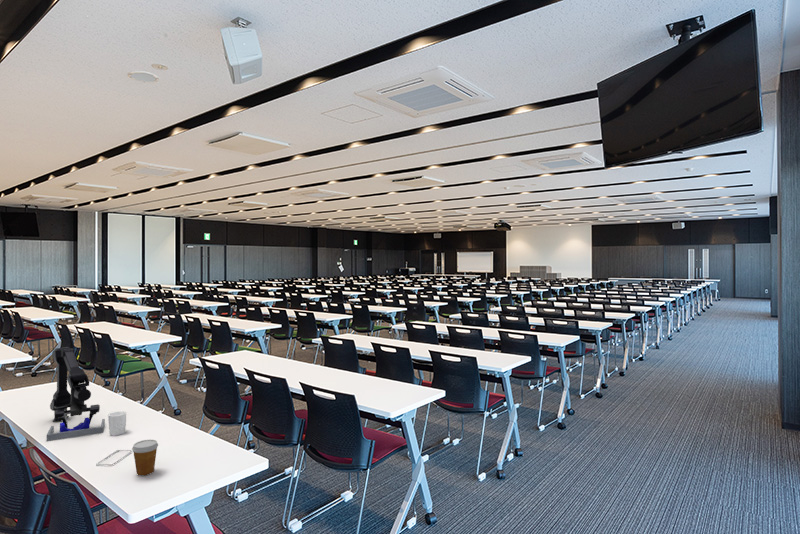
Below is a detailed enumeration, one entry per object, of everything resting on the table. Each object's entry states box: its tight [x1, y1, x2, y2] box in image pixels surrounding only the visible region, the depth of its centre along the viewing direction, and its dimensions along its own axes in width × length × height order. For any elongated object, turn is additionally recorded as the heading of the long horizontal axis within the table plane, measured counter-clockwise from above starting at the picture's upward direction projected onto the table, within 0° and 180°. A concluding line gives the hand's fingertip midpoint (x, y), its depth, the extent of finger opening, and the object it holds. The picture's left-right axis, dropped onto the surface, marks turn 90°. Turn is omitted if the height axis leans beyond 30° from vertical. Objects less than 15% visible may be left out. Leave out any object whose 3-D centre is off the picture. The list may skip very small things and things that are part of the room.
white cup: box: [107, 410, 127, 437], centre depth 238 cm, size 8×8×10 cm
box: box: [46, 418, 106, 442], centre depth 239 cm, size 14×23×3 cm, turn 119°
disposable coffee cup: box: [131, 439, 159, 476], centre depth 195 cm, size 10×10×12 cm
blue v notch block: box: [59, 416, 91, 433], centre depth 238 cm, size 12×4×6 cm, turn 137°
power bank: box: [95, 449, 133, 467], centre depth 208 cm, size 7×1×15 cm
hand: (77, 427), depth 241 cm, fingers open, 9 cm apart
